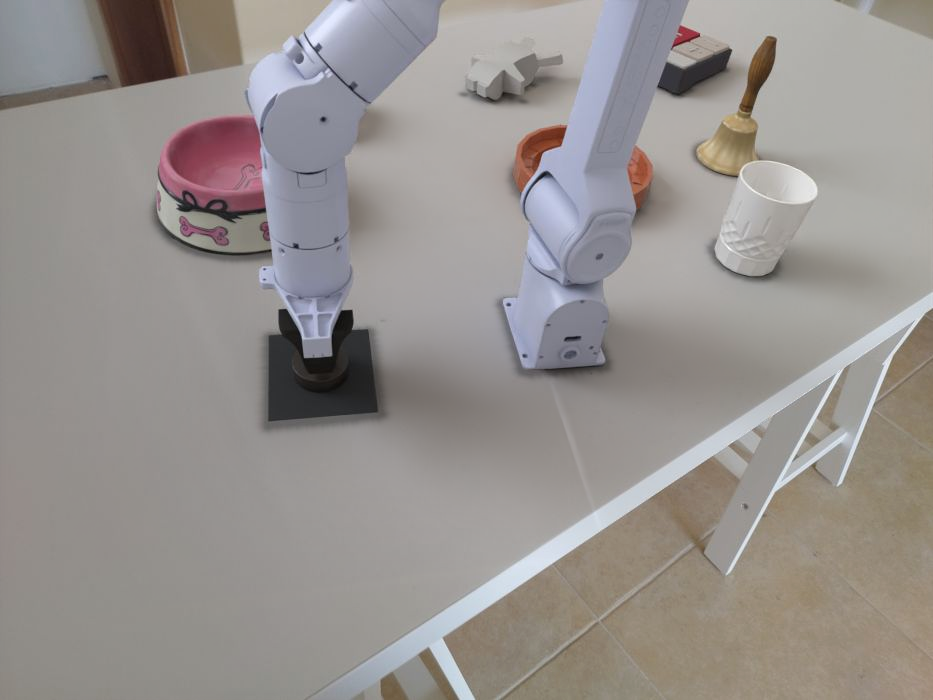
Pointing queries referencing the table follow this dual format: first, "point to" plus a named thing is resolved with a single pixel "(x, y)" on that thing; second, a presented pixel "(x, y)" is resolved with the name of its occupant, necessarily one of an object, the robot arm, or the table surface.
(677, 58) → the calculator
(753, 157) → the hand bell
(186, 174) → the dog bowl
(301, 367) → the coffee tamper
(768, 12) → the table surface
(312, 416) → the mat
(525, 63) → the white lobed flat block
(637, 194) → the terracotta bowl
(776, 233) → the white cup
